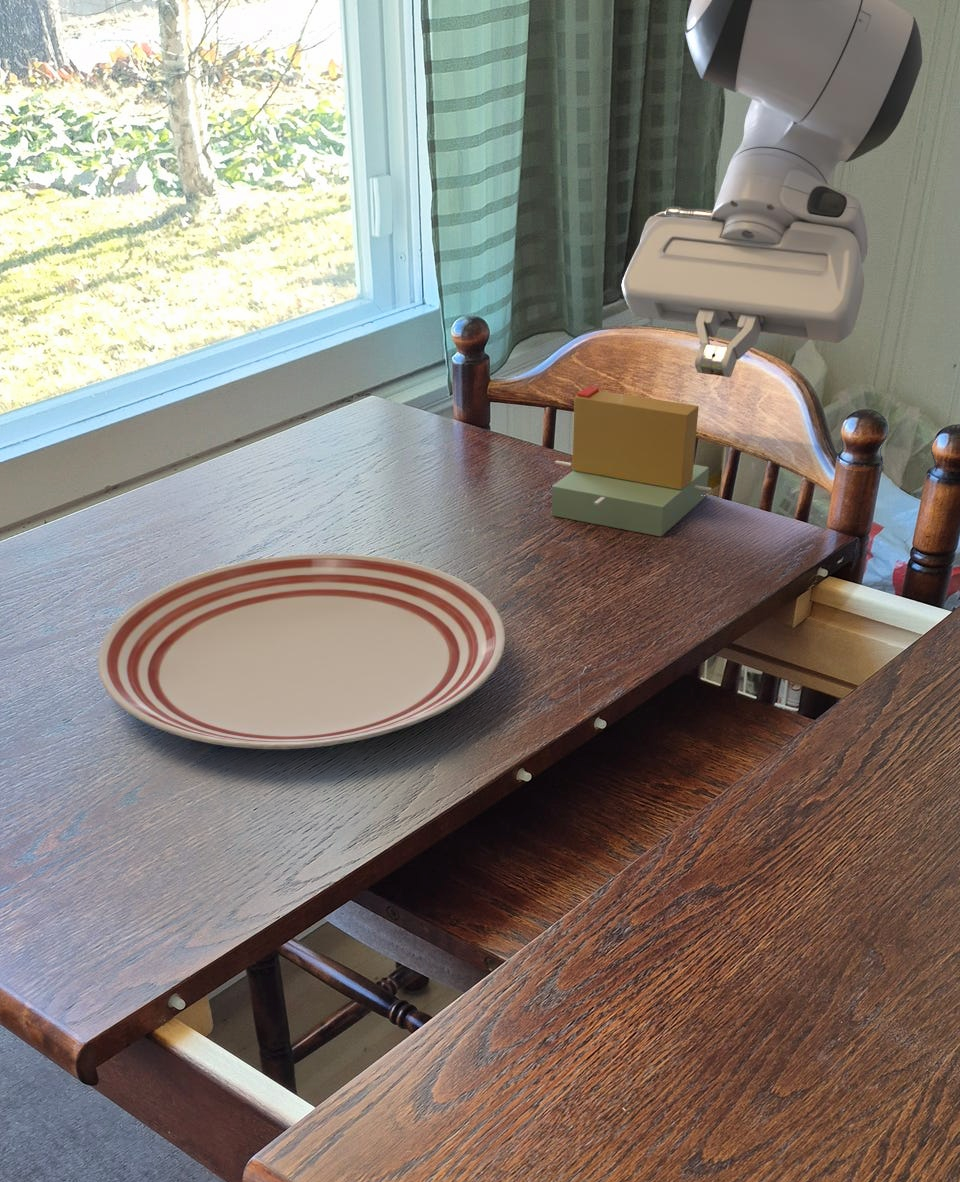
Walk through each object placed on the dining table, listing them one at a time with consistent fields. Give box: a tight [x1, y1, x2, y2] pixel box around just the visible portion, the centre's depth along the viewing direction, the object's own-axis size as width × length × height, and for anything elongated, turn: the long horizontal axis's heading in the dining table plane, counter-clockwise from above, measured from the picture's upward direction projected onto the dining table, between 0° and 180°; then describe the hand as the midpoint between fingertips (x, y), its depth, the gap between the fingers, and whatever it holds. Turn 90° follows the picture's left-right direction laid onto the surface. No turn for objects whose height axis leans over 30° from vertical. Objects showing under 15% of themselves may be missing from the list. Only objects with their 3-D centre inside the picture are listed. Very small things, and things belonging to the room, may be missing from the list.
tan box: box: [571, 386, 699, 490], centre depth 118 cm, size 10×2×6 cm, turn 62°
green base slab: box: [551, 460, 713, 538], centre depth 121 cm, size 14×14×3 cm
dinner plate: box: [97, 553, 506, 750], centre depth 98 cm, size 28×27×3 cm
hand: (712, 371), depth 121 cm, fingers closed
